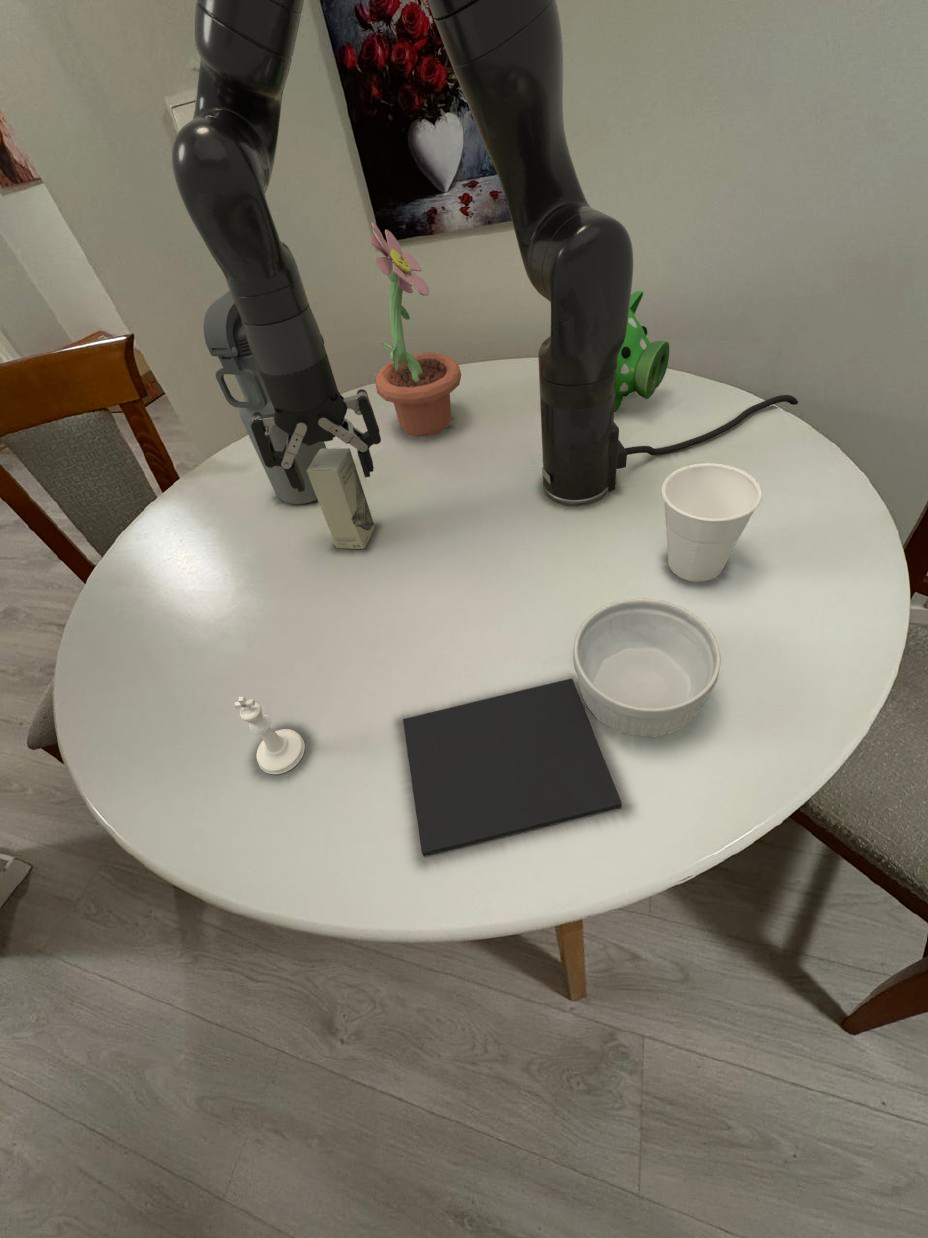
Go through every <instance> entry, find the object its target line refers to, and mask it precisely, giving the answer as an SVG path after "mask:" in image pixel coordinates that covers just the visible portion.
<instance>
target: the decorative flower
mask: <svg viewBox="0 0 928 1238" xmlns="http://www.w3.org/2000/svg"><path fill="white" fill-rule="evenodd" d="M370 224H371V226H372V228H373V229H372V233H373V235H374V236H373V235H370V237H369V242H370V243H371V245H372V246H373V247H374V248H375V249H376V250H377V251H378V252H380V253H381V254H382V255H383V256H379V257H378V256H377V257H375V258H374V261H375V263H376V265H377V267H378V268H379V270H380V271H381V273H383V275H385V276H387V278H388V279H389V280H390V289H389V290H390V291H389V305H388V309H389V310H388V314H389V315H388V316H389V323H390V334H391V340H392V345H393V347H392V346H391V345H390V344H388V343H386V342H384V341H381V340H378V342H379V343H380V344H381V345H382V346H383V347H384V348H386V349H387V350H391V352H390V354H389V358H390V360H391V361H389V362H388V363H386V364H385V365H384V366H383V367H382V368H381V369H379V370H378V372H377V374H376V377H375V390H376V393H377V395H379V396H380V398H382V400H384V401H385V402H388V403H393V407H394V409H395V412H396V417H397V420H398V423H399V425H400V428H401V429H402V430H403V431H404V433H406V434H408V435H410V436H414V437H430V436H434V435H436V434H439V433H441V432H443V431H444V430H445V429H446V428H447V427H448V426H449V425H450V423H451V420H452V406H451V405H452V404H451V403H452V402H451V393H452V392H453V391H455V389H456V388H457V387H459V386H460V384H461V378H462V371H461V368H460V365H459V364H458V362H457V361H456V360H455V359H454V358H452V357H451V356H449V355H445V354H442V353H437V352H419V353H413V354H411V353H410V352H409V351H407V348H406V342H405V337H404V328H403V320H402V318H403V319H404V320H405V321H406V320H407V321H409V320H410V319H411V317H410V314H409V312H408V311H407V309H406V308H405V307H404V306H403V305H402V304H403V292H406V293H407V294H413V293H414V290H413V288H412V287H414V288H415V290H416V291H417V292H418V294H419V295H420V296H424V297H426V296H429V295H430V288H429V285H428V283H427V282H426V280H425V279H424V278H423V277H421V276H420V275H419V274H417V273H416V272H422V268H421V266H420V264H419V262H418V261H417V260H416V258H415V257H414V256H413V255H412V254H411V253H410V252H409V251H408V250H406V251H404V252H403V251H402V248H401V245H400V243H399V241H398V240H397V238H396V237H395V236H394V234H393V233H392V232H391V231H390V230H389V229H385V230H384V234H385V237H386V239H385V238H384V236H383V234H382V232H381V230H380V228H379V227H378V225H377V224H376V223H375V222H374V221H372V222H370Z"/></svg>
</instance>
